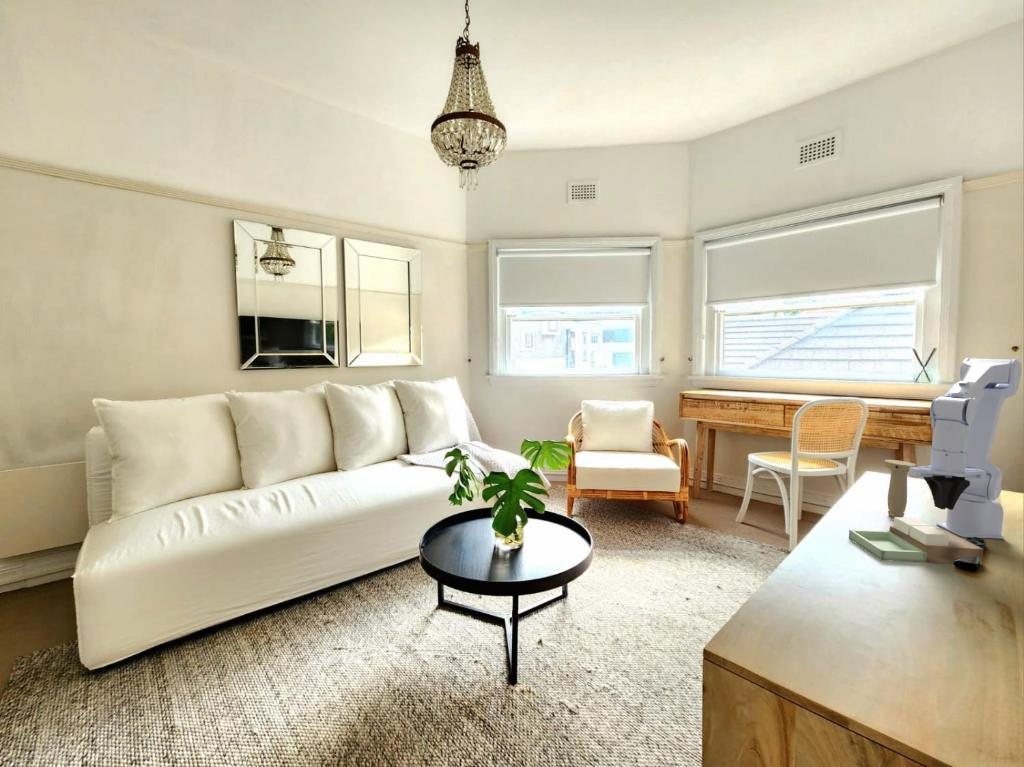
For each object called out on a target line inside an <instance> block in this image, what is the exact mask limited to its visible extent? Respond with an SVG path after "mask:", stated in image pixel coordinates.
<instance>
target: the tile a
mask: <svg viewBox="0 0 1024 767" xmlns="http://www.w3.org/2000/svg"><path fill="white" fill-rule="evenodd" d="M893 526H894V528H896V529H897V530H899V531H901V532H903V533H905V534H906V535H910V526H931V525H930V524H928V523H926V522H925V521H922V520H920V519H918V518H916V517H905V516H904V517H893Z"/></svg>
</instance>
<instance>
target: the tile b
mask: <svg viewBox="0 0 1024 767" xmlns="http://www.w3.org/2000/svg"><path fill="white" fill-rule="evenodd" d="M936 528H937V527H934V526H931V525H930V526H910V537H912V538H914V539H915V540H917V541H919V542H921V543H923V544H924V545H933V546H948V545H949V535H948V534H946V533H944V532H942V531H940V530H938V529H936Z"/></svg>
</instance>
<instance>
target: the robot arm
mask: <svg viewBox="0 0 1024 767" xmlns="http://www.w3.org/2000/svg"><path fill="white" fill-rule="evenodd" d="M1022 368H1023V367H1022V363H1021V361H1020V360H1019V359H1018V358H1013V359H1002V358H1001V359H1000V358H999V359H998V358H997V359H995V358H992V359H991V358H972V357H967V358H965V359H964V360H962V362H961V364H960V367H959V377H960V381H957V382H955V383H954V384H952V385H951V386H950V387H949V389H948V390H947V392H946V393H945V394H944V395H943V396H938V398H934V399H933V400H932V401H931V404H930V409H929V416H930V427H931V429H933V430H932V431H933V432H932V440H931V441H932V442H931V453H930V464H929V465H922V466H916V467H910V468H909V472H908V476H910V477H914V478H921V477H922V478H923V480H925V481H924V482H926V484H927V486H928V488H929V491H930V494H931V496H932V500H933V504H934V507H935V508H938V509H940V510H946V509H947V511H946V520H945V521H946V522H936V526H938V527H940V528H942V529H944V530H946V531H948V532H950V533H952V534H953V533H954V535H956V536H958V537H960V538H962V537H963V538H974V537H977V538H980V539H1005V536H1004V535H1002V532H1003V521H1004V509H1003V507H1002V504H1001V503H1000V502H999V501H998V498H999V497H1000V494H1001V493H1002V482H1003V481H1002V479H1003V473H1002V471H1001V469H1000V468H999V467H998V466H996V465H994V463H992V462H991V461H990V457H991V452H992V447H993V443H994V440H995V439H994V438H995V436H996V431H997V427H998V423H999V418H1000V414H1001V410H1002V406H1003V404H1004V402H1005V400H1006V399H1008V398H1010V397H1014V396H1016V394H1017V392H1018V390H1019V386H1020V382H1021V378H1022V377H1021V376H1022V371H1023V370H1022Z"/></svg>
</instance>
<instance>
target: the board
mask: <svg viewBox="0 0 1024 767" xmlns="http://www.w3.org/2000/svg"><path fill="white" fill-rule="evenodd" d="M935 528H936V529H938V530H940V531H942V532H944V533H946V534H948V535H949V545H948V546H933V545H924V544H923V543H921V542H919V541H917V540H915V539H914V538H912V537H910V535H906V534H905V533H903V532H901V531H899V530H897V529H896V528H894V525H890V526H889V531H890V532H892V533H894V534H895V535H897V536H899V537H901V538H902V539H904V540H906V541H908V542H909V543H911V544H913V545H915V546H916V547H918V548H920V549H921V550H923V551H925V552H927V555H926V562H925V563H930V564H931V563H933V564H934V563H935V564H936V563H937V564H954V563H953V562H954V561H955V560H958V559H963V558H968V557H979V561H980V565H981V566H982V565H983V558H984V548H983V547H980V546H978V545H976V544H974V543H972V542H971V541H968V540H966V539H964V538H962V537H961V536H959V535H957V534H955V533H954V534H953V532H951V531H949V530H947V529H945V528H943V527H935Z"/></svg>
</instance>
